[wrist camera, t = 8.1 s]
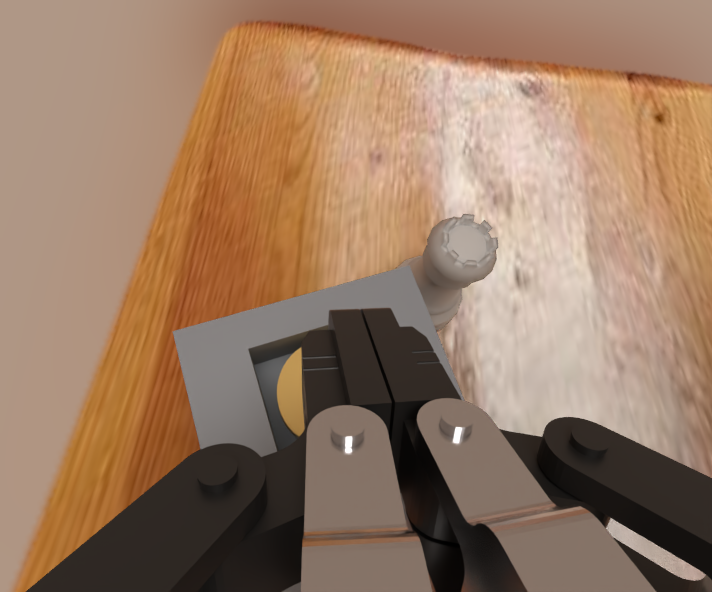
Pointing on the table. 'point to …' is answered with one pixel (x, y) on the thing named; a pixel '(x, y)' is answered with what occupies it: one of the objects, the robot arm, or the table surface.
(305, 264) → the table surface
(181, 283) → the table surface
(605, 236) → the table surface
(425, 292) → the rook chess piece
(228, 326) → the console
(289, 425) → the amber button
